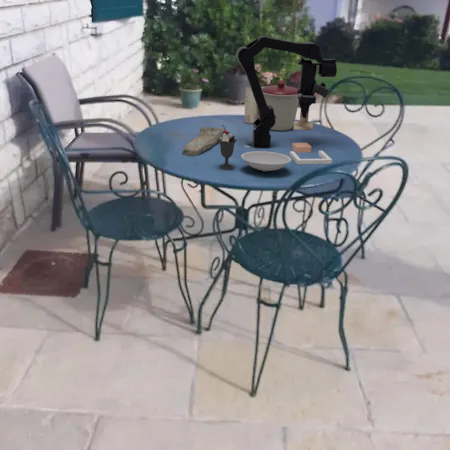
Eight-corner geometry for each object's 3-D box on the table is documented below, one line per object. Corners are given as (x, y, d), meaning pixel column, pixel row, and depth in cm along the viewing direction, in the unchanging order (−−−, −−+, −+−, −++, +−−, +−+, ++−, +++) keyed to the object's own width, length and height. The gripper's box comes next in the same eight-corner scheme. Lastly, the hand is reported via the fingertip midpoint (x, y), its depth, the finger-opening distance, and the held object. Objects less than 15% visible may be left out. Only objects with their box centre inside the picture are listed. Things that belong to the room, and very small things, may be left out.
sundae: (216, 164, 200) (217, 123, 194) (234, 164, 200) (236, 123, 194) (217, 170, 194) (218, 128, 188) (236, 170, 194) (238, 128, 188)
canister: (249, 127, 250) (252, 79, 241) (277, 121, 261) (280, 75, 252) (279, 135, 238) (282, 85, 229) (306, 129, 249) (311, 81, 240)
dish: (293, 167, 199) (294, 154, 197) (286, 180, 186) (287, 166, 184) (245, 162, 203) (246, 149, 201) (235, 174, 190) (236, 160, 188)
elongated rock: (176, 158, 210) (200, 163, 208) (176, 145, 208) (201, 149, 205) (208, 131, 240) (230, 135, 237) (208, 119, 237) (230, 123, 235)
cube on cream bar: (312, 129, 223) (314, 106, 219) (312, 130, 220) (315, 108, 217) (293, 127, 224) (295, 105, 220) (293, 129, 221) (295, 107, 217)
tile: (296, 153, 216) (296, 147, 215) (291, 149, 221) (292, 142, 220) (310, 153, 217) (311, 146, 216) (306, 148, 222) (306, 142, 221)
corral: (297, 164, 202) (297, 160, 202) (289, 154, 213) (289, 151, 212) (331, 163, 204) (332, 159, 204) (321, 154, 215) (322, 150, 214)
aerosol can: (257, 124, 254) (259, 80, 246) (242, 123, 256) (244, 79, 247) (260, 121, 260) (262, 77, 252) (245, 120, 262) (247, 76, 253)
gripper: (331, 82, 205) (326, 123, 211) (326, 73, 222) (322, 112, 228) (301, 80, 205) (297, 122, 212) (298, 72, 222) (295, 111, 229)
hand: (304, 116), depth 220 cm, fingers closed on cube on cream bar, 3 cm apart
